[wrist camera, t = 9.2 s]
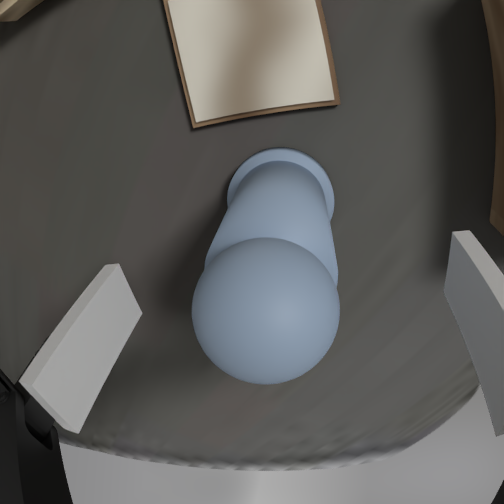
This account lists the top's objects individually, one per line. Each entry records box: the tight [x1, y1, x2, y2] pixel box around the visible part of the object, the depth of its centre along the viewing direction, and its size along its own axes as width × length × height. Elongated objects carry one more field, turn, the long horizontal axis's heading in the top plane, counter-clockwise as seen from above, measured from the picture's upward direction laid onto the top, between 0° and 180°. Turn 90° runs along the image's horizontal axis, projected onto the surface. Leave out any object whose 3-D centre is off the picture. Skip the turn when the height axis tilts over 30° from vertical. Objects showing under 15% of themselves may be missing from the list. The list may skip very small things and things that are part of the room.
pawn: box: [192, 147, 340, 384], centre depth 14 cm, size 6×6×12 cm
